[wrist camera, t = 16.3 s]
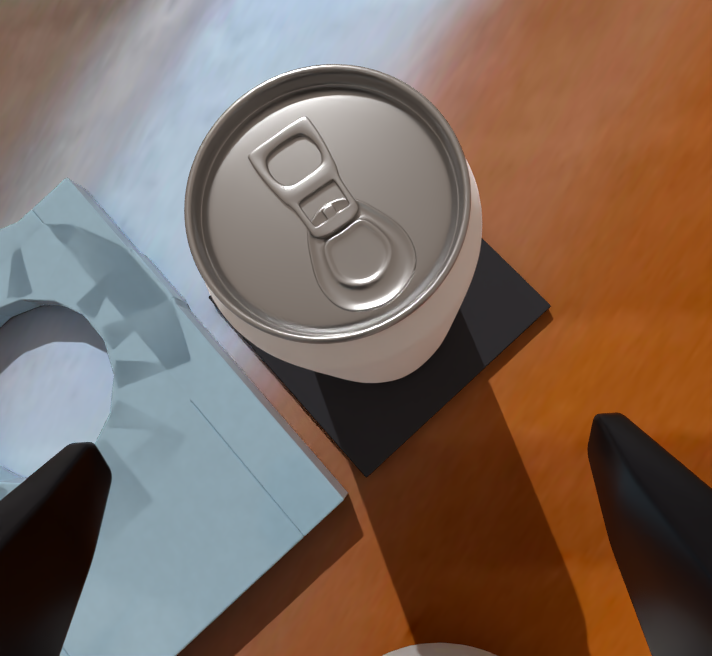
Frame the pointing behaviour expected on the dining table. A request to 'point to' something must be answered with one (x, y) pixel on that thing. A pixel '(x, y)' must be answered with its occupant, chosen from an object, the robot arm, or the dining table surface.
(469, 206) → the can
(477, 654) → the teacup
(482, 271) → the mat
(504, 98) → the dining table surface
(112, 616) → the light blue flat square
